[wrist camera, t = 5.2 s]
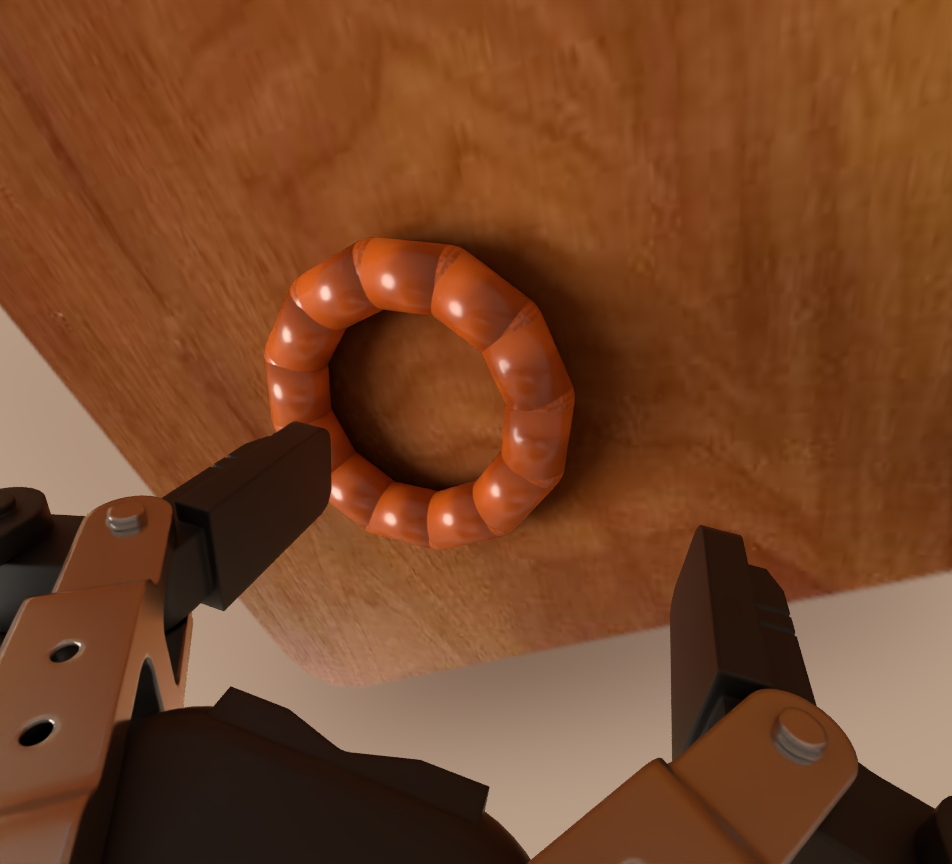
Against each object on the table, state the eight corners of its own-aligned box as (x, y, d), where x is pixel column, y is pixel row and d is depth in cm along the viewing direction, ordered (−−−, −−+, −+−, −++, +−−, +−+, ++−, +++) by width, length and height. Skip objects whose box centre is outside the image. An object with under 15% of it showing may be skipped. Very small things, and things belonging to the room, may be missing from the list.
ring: (599, 255, 13) (590, 265, 12) (554, 553, 17) (543, 590, 16) (276, 222, 16) (233, 227, 14) (303, 493, 20) (272, 520, 18)
